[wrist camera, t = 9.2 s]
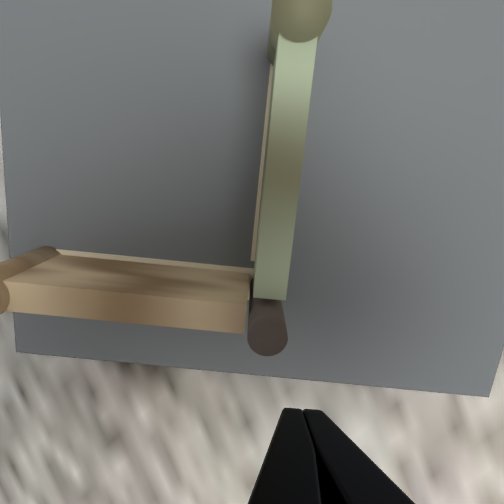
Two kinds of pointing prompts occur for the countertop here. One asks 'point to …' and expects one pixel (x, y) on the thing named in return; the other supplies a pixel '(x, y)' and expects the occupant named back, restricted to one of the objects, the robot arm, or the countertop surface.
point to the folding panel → (285, 136)
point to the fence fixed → (141, 295)
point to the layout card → (251, 173)
